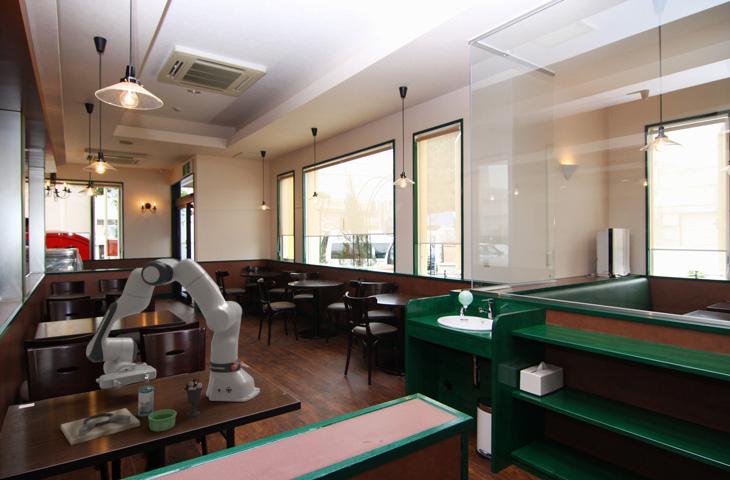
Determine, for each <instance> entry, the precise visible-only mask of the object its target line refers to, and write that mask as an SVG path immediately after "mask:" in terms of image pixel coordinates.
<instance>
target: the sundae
mask: <svg viewBox="0 0 730 480" xmlns="http://www.w3.org/2000/svg"><path fill="white" fill-rule="evenodd" d="M197 378H198V379H197ZM184 384H185V385H186V386H185V388H184V389H183V390H184V391H186V395H187V402H188V404H190V405H191V410H190V411H189V412H187V413H186V416H187V417H192V418H193V417H196V416H199V415H201V413H202V412H201V411H200V410H197V409H196V408H197V407H196V405H197V404H199V402H200V401H201V400H200V399H201V393H202V390H203V388H205V386H204V385H203V384H202V382H201V380H200V376H199V375H197V376H196V377H193V379H192V380H190V381H189V383H187V382H185V383H184Z"/></svg>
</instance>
